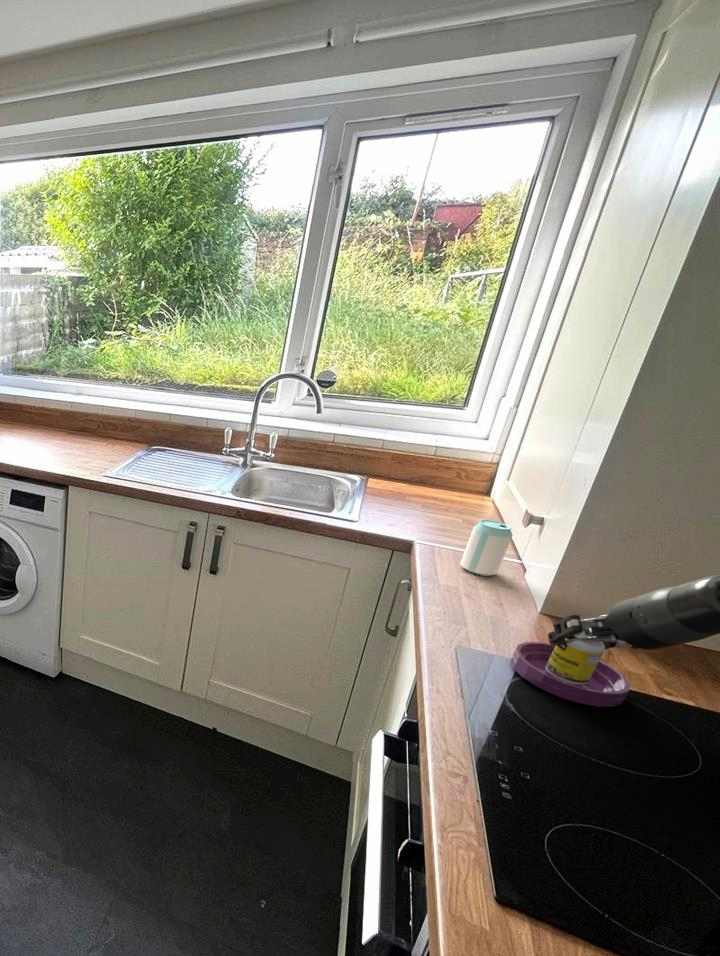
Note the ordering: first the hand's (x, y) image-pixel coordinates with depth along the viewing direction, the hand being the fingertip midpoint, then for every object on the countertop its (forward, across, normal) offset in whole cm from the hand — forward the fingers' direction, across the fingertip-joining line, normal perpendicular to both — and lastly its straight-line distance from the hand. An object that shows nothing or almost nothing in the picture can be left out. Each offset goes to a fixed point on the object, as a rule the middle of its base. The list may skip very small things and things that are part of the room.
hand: (571, 642), depth 97 cm
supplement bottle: (+3, 0, +5) cm, 6 cm away
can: (+35, -10, -26) cm, 45 cm away
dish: (+4, 0, +6) cm, 7 cm away
